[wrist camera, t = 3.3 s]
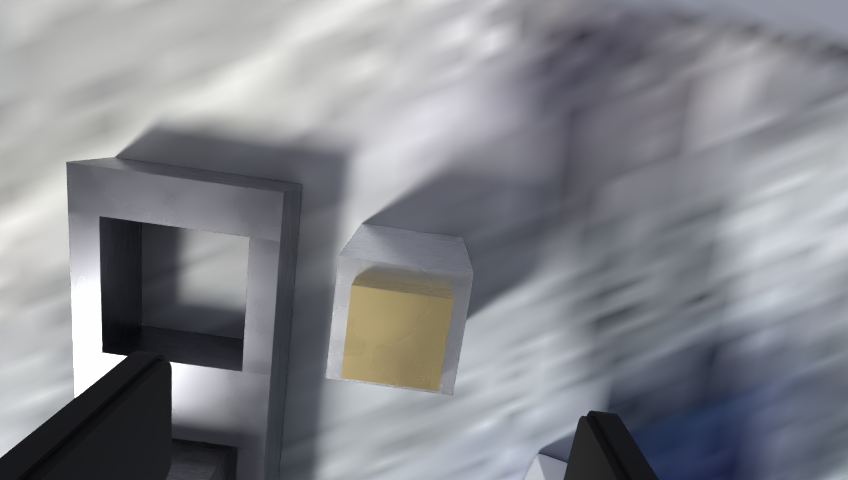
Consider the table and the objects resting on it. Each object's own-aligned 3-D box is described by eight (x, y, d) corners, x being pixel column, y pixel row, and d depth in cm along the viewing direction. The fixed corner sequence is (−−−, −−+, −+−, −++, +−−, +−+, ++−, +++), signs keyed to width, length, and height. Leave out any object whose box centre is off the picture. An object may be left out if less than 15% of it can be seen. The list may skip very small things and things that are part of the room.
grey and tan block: (462, 237, 23) (476, 283, 16) (447, 331, 24) (453, 410, 17) (361, 223, 23) (333, 263, 16) (350, 317, 24) (319, 392, 17)
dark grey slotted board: (302, 184, 23) (283, 193, 20) (273, 541, 27) (255, 590, 25) (114, 157, 22) (66, 161, 19) (118, 521, 27) (81, 568, 24)
